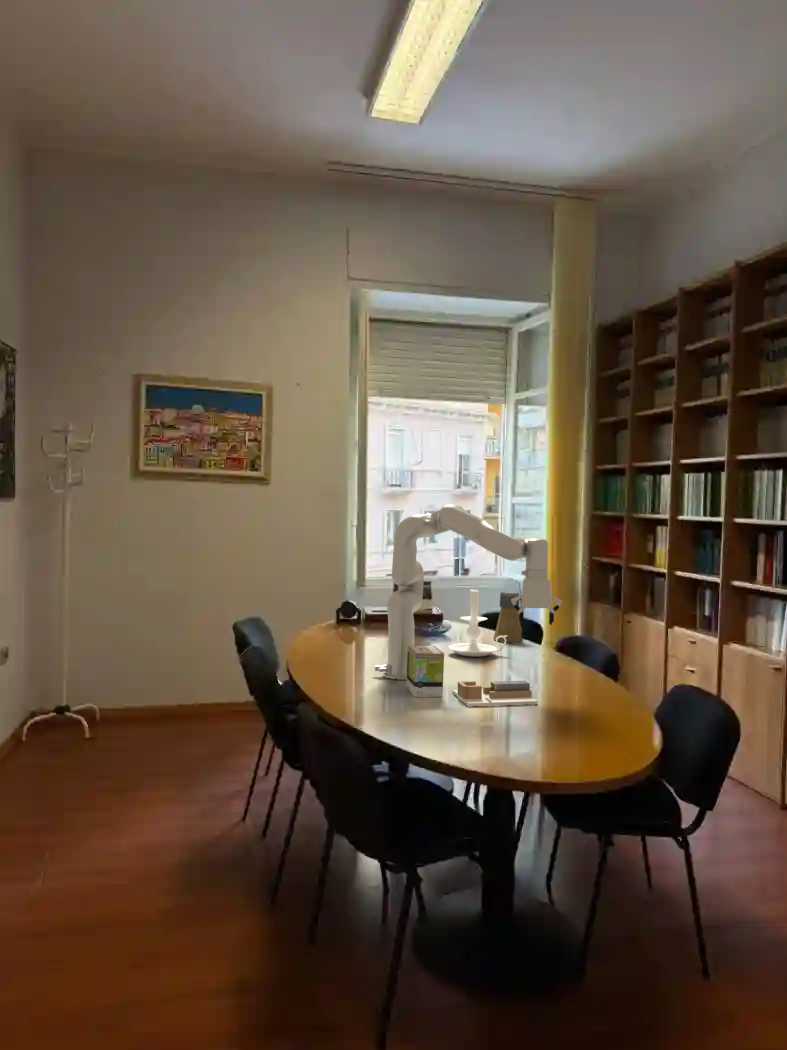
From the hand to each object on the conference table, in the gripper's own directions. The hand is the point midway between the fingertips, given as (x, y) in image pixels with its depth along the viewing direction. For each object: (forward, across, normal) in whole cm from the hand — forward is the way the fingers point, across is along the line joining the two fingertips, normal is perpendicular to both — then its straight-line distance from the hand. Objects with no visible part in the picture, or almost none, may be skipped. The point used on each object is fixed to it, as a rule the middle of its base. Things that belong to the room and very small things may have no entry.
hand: (536, 624), depth 279 cm
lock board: (+22, -14, -16) cm, 31 cm away
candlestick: (+22, -20, +58) cm, 65 cm away
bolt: (+21, -9, -14) cm, 27 cm away
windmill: (+22, -6, +97) cm, 100 cm away
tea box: (+22, -38, -11) cm, 45 cm away
